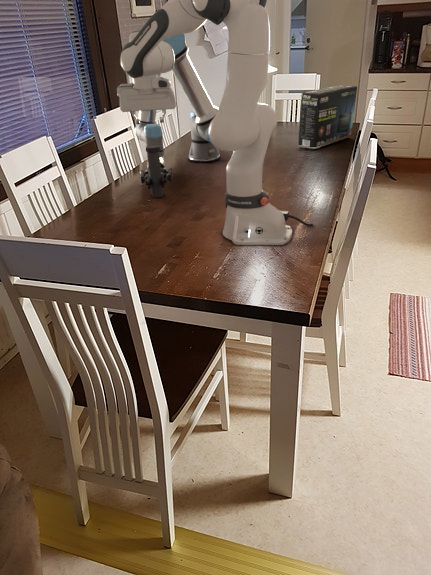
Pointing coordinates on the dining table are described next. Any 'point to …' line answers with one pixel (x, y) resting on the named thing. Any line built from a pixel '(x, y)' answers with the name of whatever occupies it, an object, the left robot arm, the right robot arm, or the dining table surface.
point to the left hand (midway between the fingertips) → (156, 185)
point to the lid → (152, 148)
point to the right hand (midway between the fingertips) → (150, 123)
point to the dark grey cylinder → (155, 174)
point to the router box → (326, 115)
